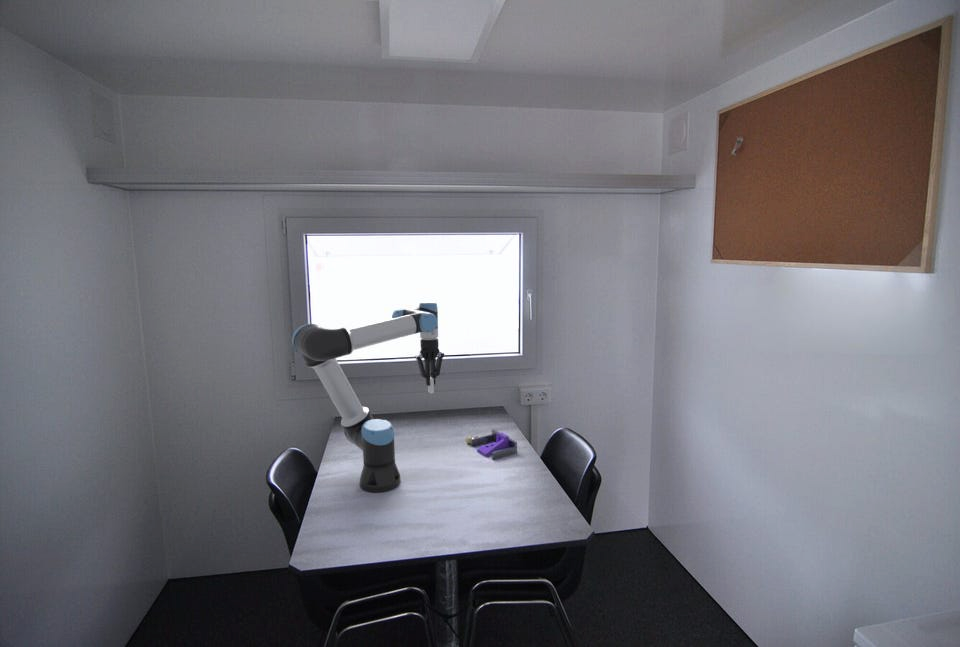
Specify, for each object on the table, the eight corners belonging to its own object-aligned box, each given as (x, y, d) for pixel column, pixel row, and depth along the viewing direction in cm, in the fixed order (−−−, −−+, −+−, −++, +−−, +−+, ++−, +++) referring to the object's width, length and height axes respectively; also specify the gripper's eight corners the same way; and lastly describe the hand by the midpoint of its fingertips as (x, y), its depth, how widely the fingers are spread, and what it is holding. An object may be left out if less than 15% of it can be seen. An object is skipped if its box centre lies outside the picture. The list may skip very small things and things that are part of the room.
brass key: (471, 445, 229) (471, 438, 228) (466, 443, 231) (465, 436, 230) (479, 441, 233) (479, 434, 233) (474, 439, 235) (474, 432, 234)
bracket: (500, 446, 228) (499, 431, 227) (508, 451, 222) (508, 436, 221) (477, 452, 222) (476, 437, 221) (485, 457, 216) (485, 442, 215)
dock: (493, 459, 213) (493, 448, 212) (471, 445, 228) (470, 434, 227) (517, 453, 219) (517, 442, 218) (494, 439, 234) (493, 429, 233)
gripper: (418, 341, 208) (420, 397, 212) (447, 337, 215) (448, 392, 219) (411, 338, 214) (413, 393, 218) (439, 335, 221) (440, 388, 225)
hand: (431, 392), depth 218 cm, fingers closed
